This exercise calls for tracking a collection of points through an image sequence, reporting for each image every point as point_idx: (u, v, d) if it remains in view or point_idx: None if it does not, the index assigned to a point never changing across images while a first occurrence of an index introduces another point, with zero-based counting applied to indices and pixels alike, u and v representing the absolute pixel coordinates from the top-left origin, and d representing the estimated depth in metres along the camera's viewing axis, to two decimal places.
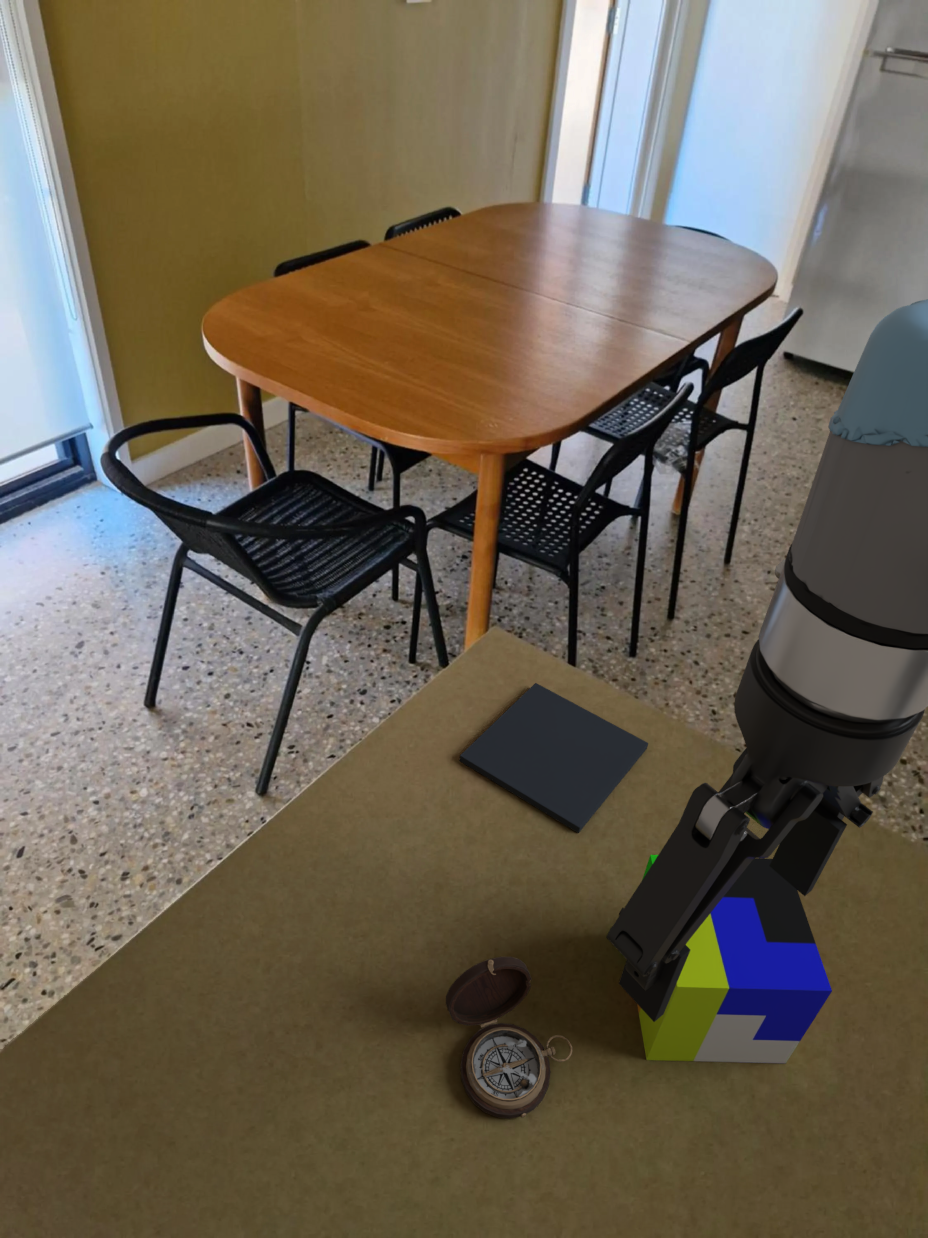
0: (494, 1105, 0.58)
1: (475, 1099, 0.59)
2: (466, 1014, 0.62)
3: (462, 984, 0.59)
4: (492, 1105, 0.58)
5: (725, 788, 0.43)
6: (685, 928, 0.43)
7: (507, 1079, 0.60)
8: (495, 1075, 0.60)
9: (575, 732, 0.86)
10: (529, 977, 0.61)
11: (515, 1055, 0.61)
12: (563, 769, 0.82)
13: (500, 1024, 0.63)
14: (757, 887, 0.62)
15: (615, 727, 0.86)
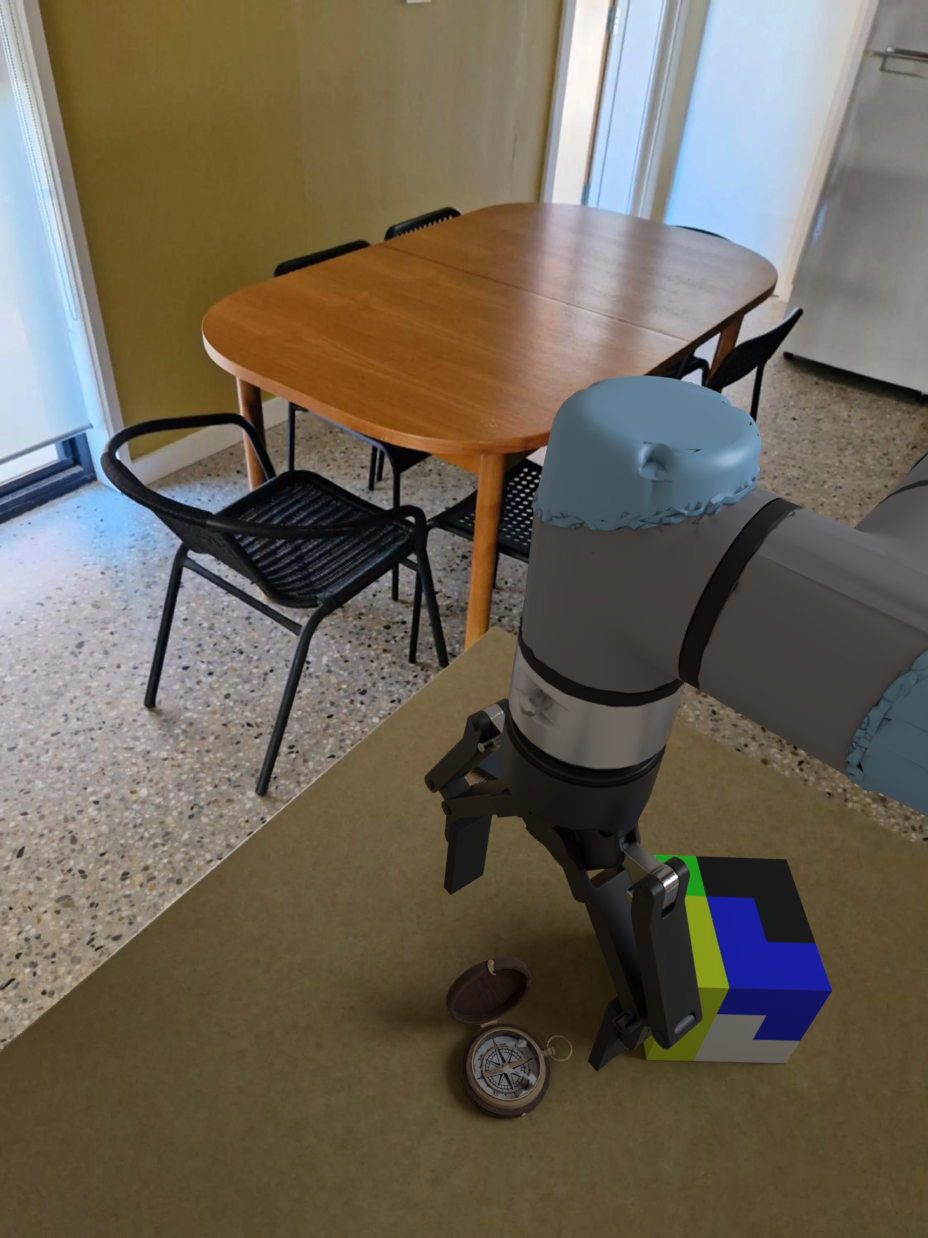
0: (494, 1105, 0.58)
1: (475, 1098, 0.59)
2: (466, 1014, 0.62)
3: (462, 984, 0.59)
4: (492, 1105, 0.58)
5: (582, 876, 0.43)
6: None
7: (507, 1079, 0.60)
8: (495, 1075, 0.60)
9: None
10: (529, 977, 0.61)
11: (515, 1055, 0.61)
12: None
13: (500, 1024, 0.63)
14: (757, 887, 0.62)
15: None
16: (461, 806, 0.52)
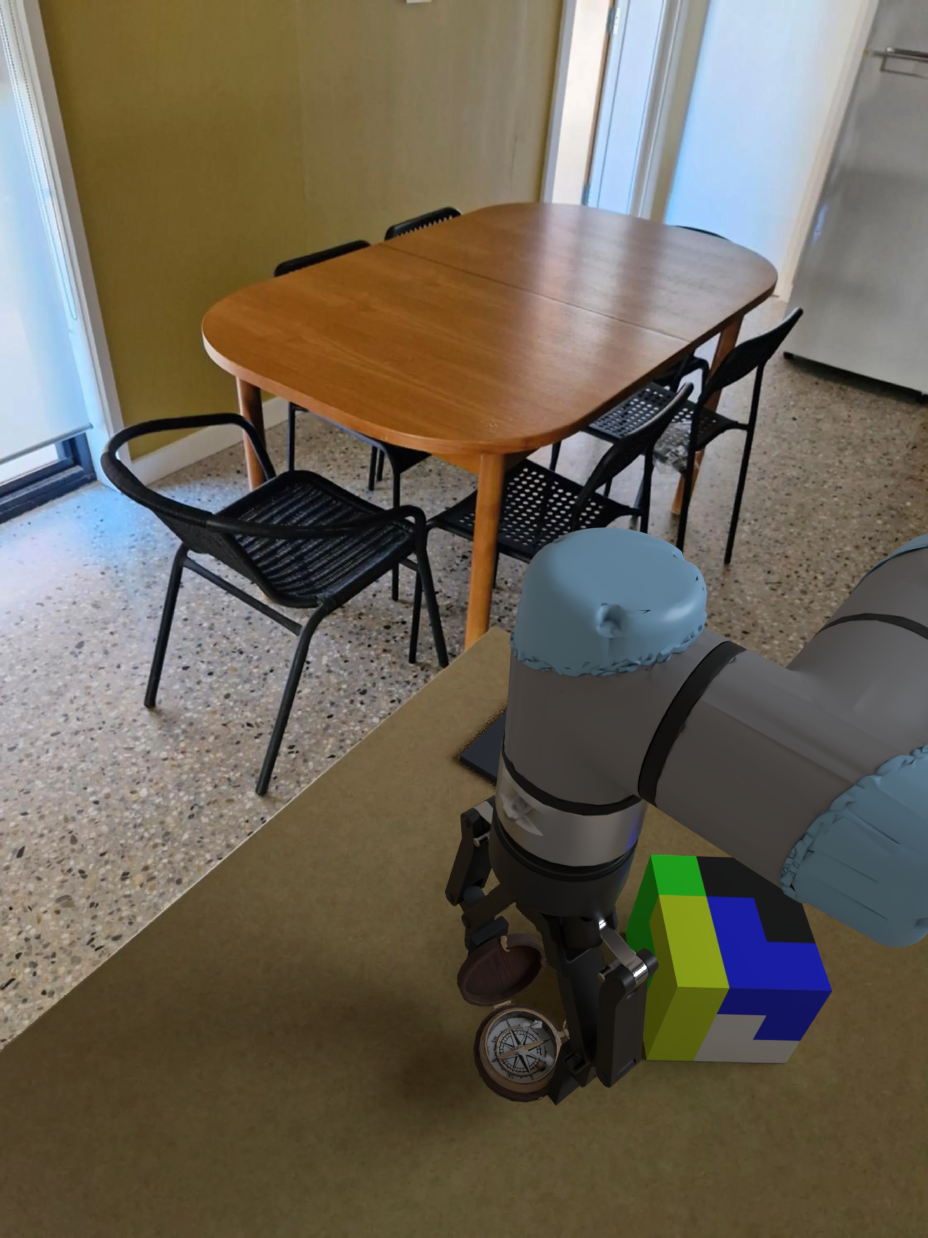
0: (509, 1088, 0.55)
1: (489, 1082, 0.56)
2: (478, 994, 0.59)
3: (474, 962, 0.56)
4: (507, 1088, 0.56)
5: (560, 953, 0.48)
6: None
7: (522, 1061, 0.57)
8: (510, 1057, 0.57)
9: None
10: (544, 955, 0.59)
11: (530, 1037, 0.59)
12: None
13: (514, 1005, 0.60)
14: (757, 887, 0.62)
15: None
16: (475, 914, 0.56)
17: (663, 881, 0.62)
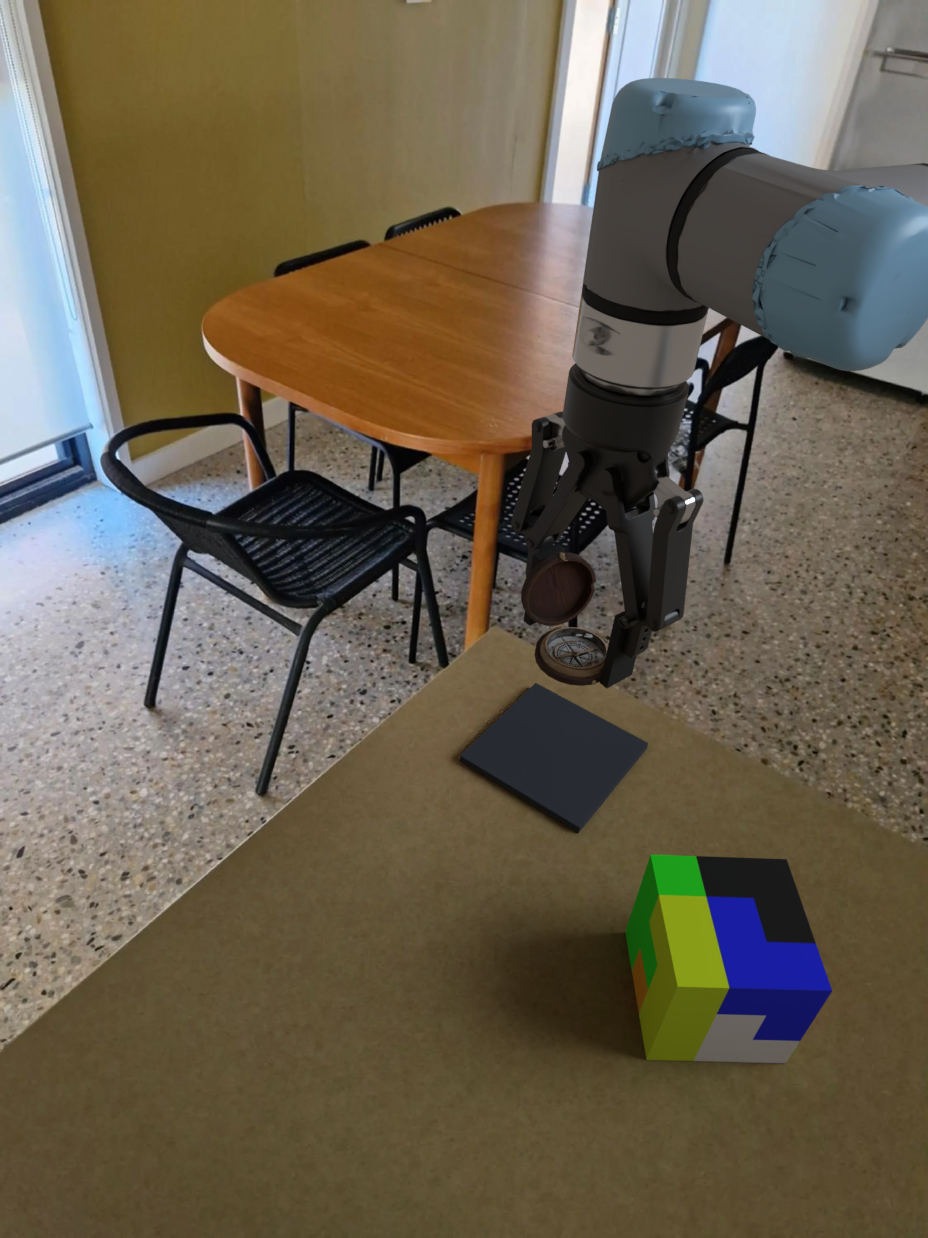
0: (568, 673, 0.66)
1: (550, 671, 0.66)
2: (538, 615, 0.69)
3: (537, 571, 0.66)
4: (566, 673, 0.66)
5: (620, 507, 0.58)
6: None
7: (577, 661, 0.67)
8: (566, 658, 0.68)
9: (575, 732, 0.86)
10: (594, 578, 0.69)
11: (582, 647, 0.69)
12: (563, 769, 0.82)
13: None
14: (757, 887, 0.62)
15: (615, 727, 0.86)
16: (540, 526, 0.66)
17: (663, 881, 0.62)
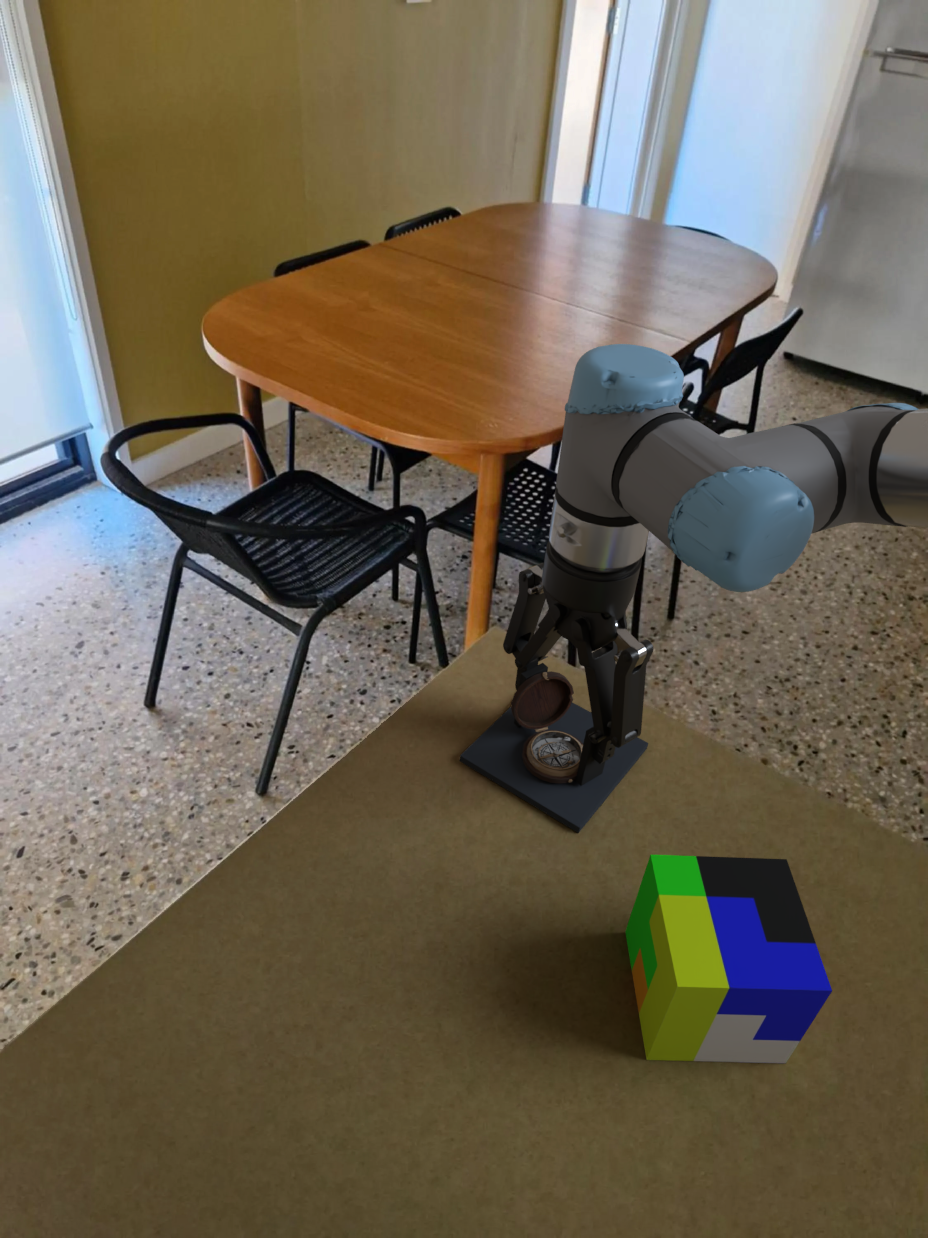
0: (549, 773, 0.80)
1: (534, 770, 0.80)
2: (525, 720, 0.84)
3: (524, 688, 0.81)
4: (547, 773, 0.80)
5: (588, 650, 0.72)
6: None
7: (557, 761, 0.82)
8: (548, 758, 0.82)
9: (575, 732, 0.86)
10: (572, 690, 0.83)
11: (562, 748, 0.83)
12: None
13: (550, 730, 0.84)
14: (757, 887, 0.62)
15: None
16: (526, 652, 0.80)
17: (663, 881, 0.62)
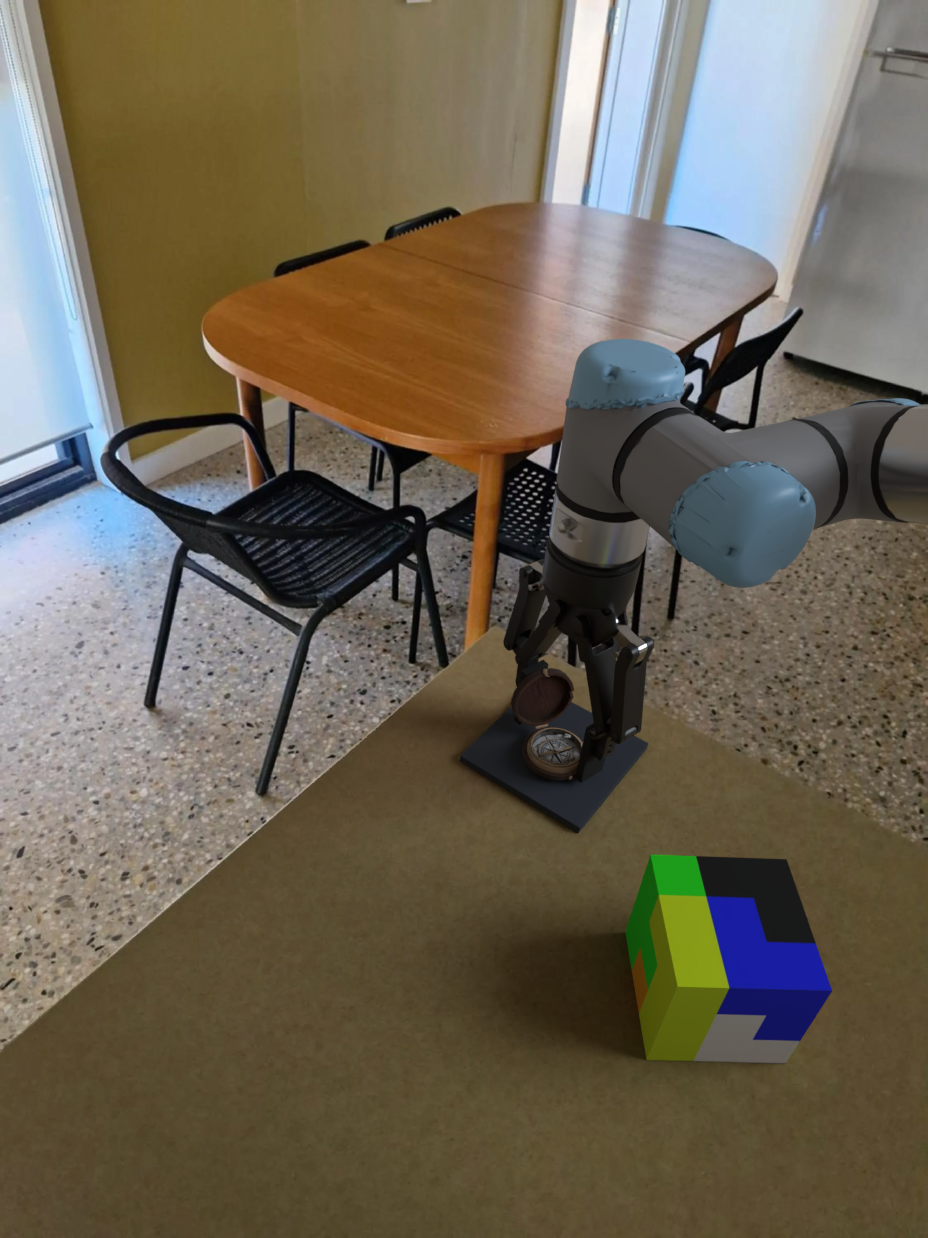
0: (549, 770, 0.80)
1: (534, 767, 0.80)
2: (525, 717, 0.83)
3: (524, 684, 0.80)
4: (547, 770, 0.80)
5: (588, 646, 0.72)
6: None
7: (557, 758, 0.81)
8: (548, 755, 0.81)
9: (575, 732, 0.86)
10: (572, 687, 0.83)
11: (562, 745, 0.83)
12: None
13: (550, 727, 0.84)
14: (757, 887, 0.62)
15: None
16: (526, 649, 0.80)
17: (663, 881, 0.62)
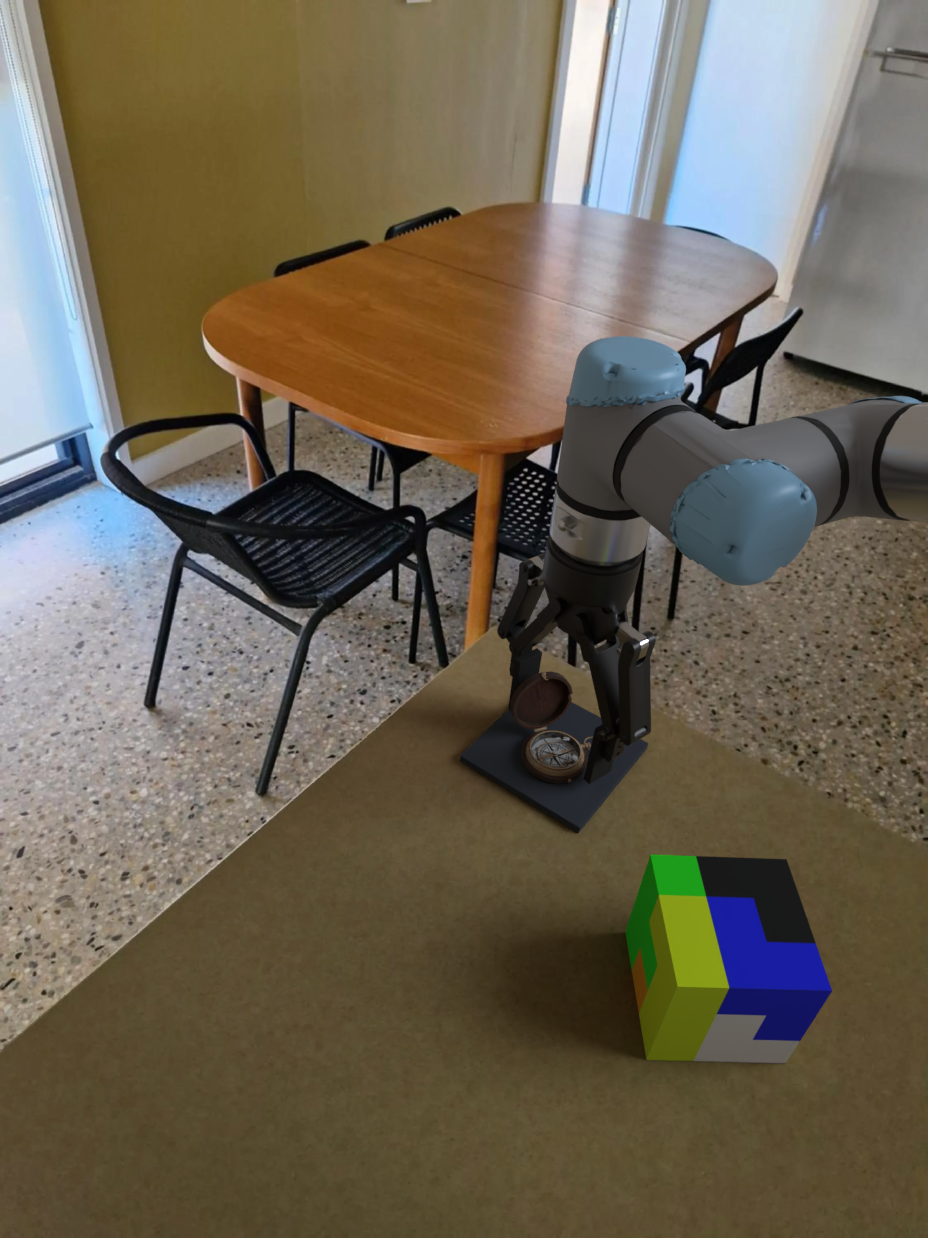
0: (548, 773, 0.80)
1: (533, 770, 0.80)
2: (524, 720, 0.84)
3: (523, 688, 0.81)
4: (546, 773, 0.80)
5: (590, 644, 0.71)
6: None
7: (556, 761, 0.82)
8: (547, 758, 0.82)
9: (575, 732, 0.86)
10: (571, 690, 0.83)
11: (561, 748, 0.83)
12: None
13: (549, 730, 0.84)
14: (757, 887, 0.62)
15: None
16: (521, 639, 0.80)
17: (663, 881, 0.62)
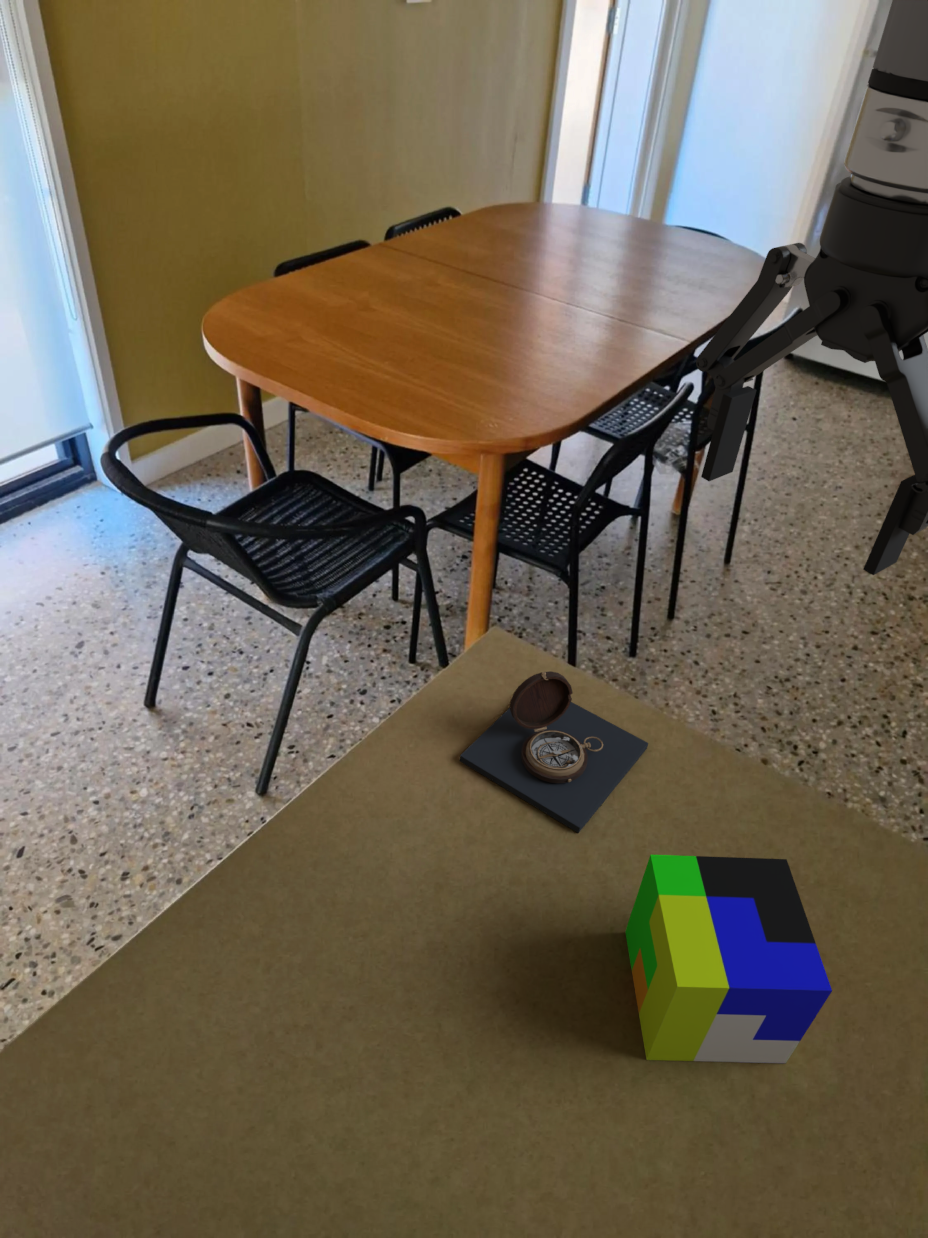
0: (548, 773, 0.80)
1: (533, 770, 0.80)
2: (524, 720, 0.84)
3: (523, 688, 0.81)
4: (546, 773, 0.80)
5: (893, 345, 0.50)
6: None
7: (556, 761, 0.82)
8: (547, 758, 0.82)
9: (575, 732, 0.86)
10: (571, 690, 0.83)
11: (561, 748, 0.83)
12: None
13: (549, 730, 0.84)
14: (757, 887, 0.62)
15: (615, 727, 0.86)
16: (741, 365, 0.59)
17: (663, 881, 0.62)
